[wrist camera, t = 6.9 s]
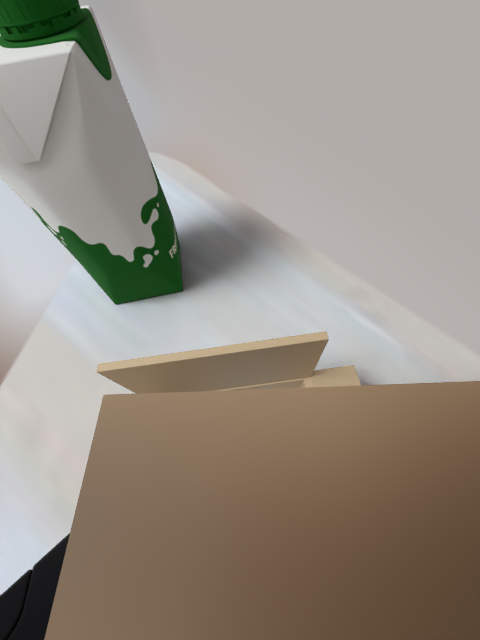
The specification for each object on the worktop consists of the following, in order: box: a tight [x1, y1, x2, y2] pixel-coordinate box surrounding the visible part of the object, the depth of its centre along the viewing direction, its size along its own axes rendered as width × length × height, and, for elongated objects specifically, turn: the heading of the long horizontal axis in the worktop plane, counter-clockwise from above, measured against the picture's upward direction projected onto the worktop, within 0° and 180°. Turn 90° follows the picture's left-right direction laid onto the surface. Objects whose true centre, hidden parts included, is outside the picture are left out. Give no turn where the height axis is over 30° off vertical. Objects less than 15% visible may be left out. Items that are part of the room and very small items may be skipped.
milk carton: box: [0, 0, 183, 304], centre depth 20 cm, size 9×9×20 cm
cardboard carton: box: [97, 332, 361, 394], centre depth 13 cm, size 14×17×10 cm
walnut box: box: [44, 381, 480, 640], centre depth 7 cm, size 4×5×11 cm
